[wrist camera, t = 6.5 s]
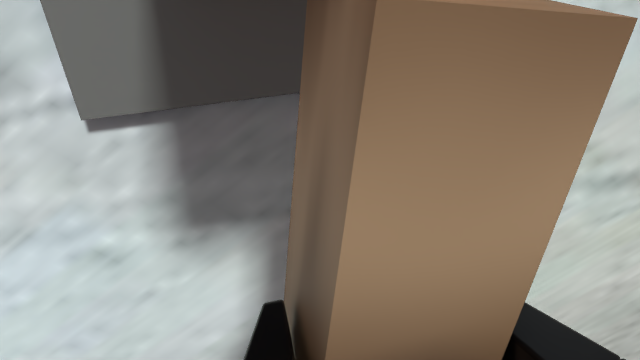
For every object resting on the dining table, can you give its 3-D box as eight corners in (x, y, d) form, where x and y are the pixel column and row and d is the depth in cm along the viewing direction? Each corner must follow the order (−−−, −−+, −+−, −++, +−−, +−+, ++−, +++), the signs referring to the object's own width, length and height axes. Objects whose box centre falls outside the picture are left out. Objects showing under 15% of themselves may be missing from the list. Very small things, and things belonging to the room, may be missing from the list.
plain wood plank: (373, 422, 13) (420, 563, 10) (273, 436, 13) (291, 590, 10) (477, -15, 8) (638, 18, 5) (309, -30, 7) (377, -4, 4)
